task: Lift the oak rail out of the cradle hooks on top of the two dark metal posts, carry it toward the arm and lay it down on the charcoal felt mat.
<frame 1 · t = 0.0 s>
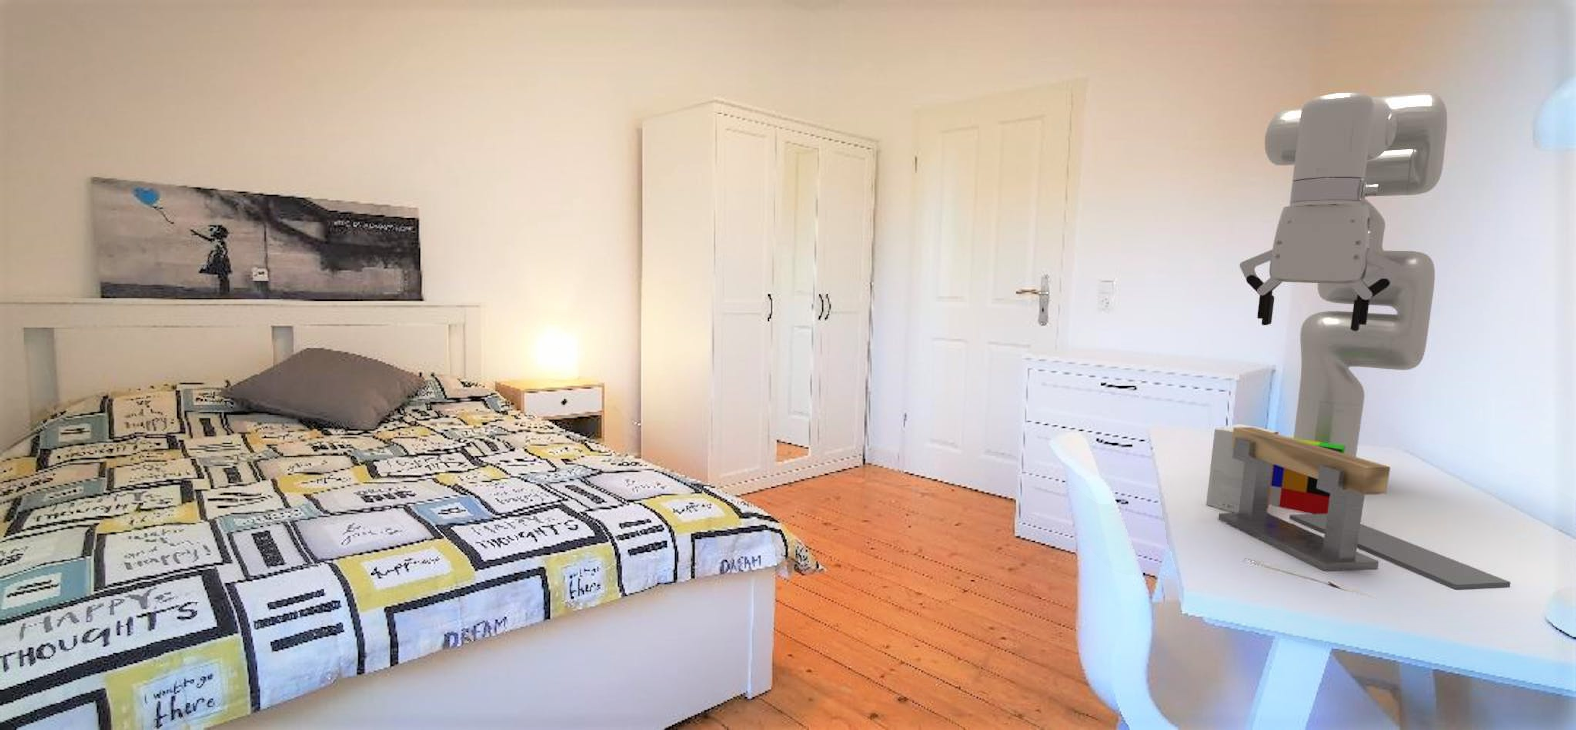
hand: (1309, 327, 96), 31 cm above the table, tool pointing down, fingers open, 9 cm apart
puzzle toy: (1296, 504, 122), on the table
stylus: (1326, 588, 91), on the table
rail: (1300, 469, 103), point 11 cm above the table, touching rack
small box: (1237, 507, 120), on the table
mat: (1387, 548, 103), on the table
rack: (1291, 542, 104), on the table
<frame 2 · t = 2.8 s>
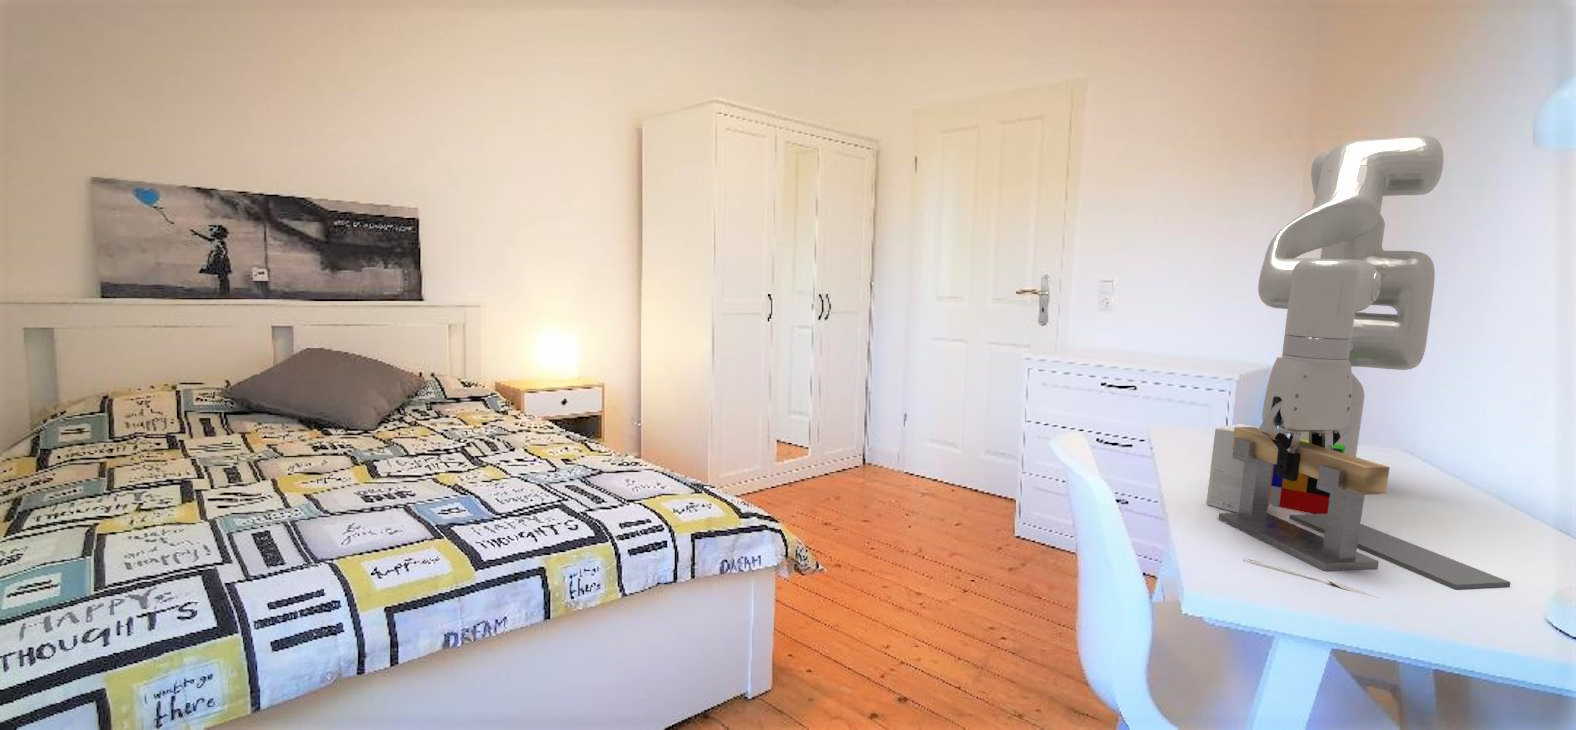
hand: (1299, 476, 103), 10 cm above the table, tool pointing down, fingers closed on rail, 3 cm apart
rail: (1300, 469, 103), point 11 cm above the table, touching gripper, rack, small box
small box: (1237, 507, 120), on the table, touching rail
everything else where it was.
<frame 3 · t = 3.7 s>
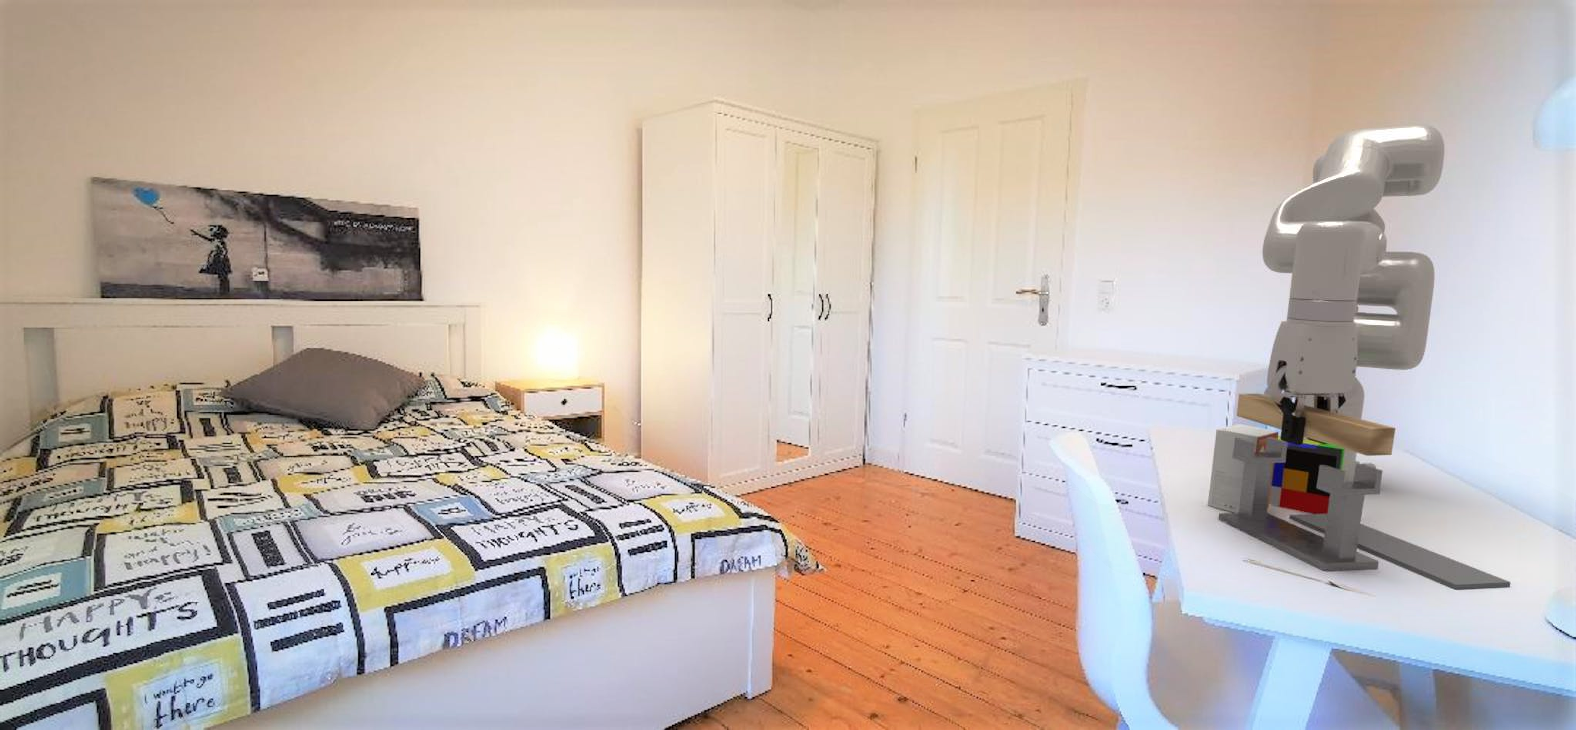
hand: (1304, 440, 103), 15 cm above the table, tool pointing down, fingers closed on rail, 3 cm apart
rail: (1306, 433, 102), point 16 cm above the table, touching gripper
small box: (1238, 508, 119), on the table
everything else where it was.
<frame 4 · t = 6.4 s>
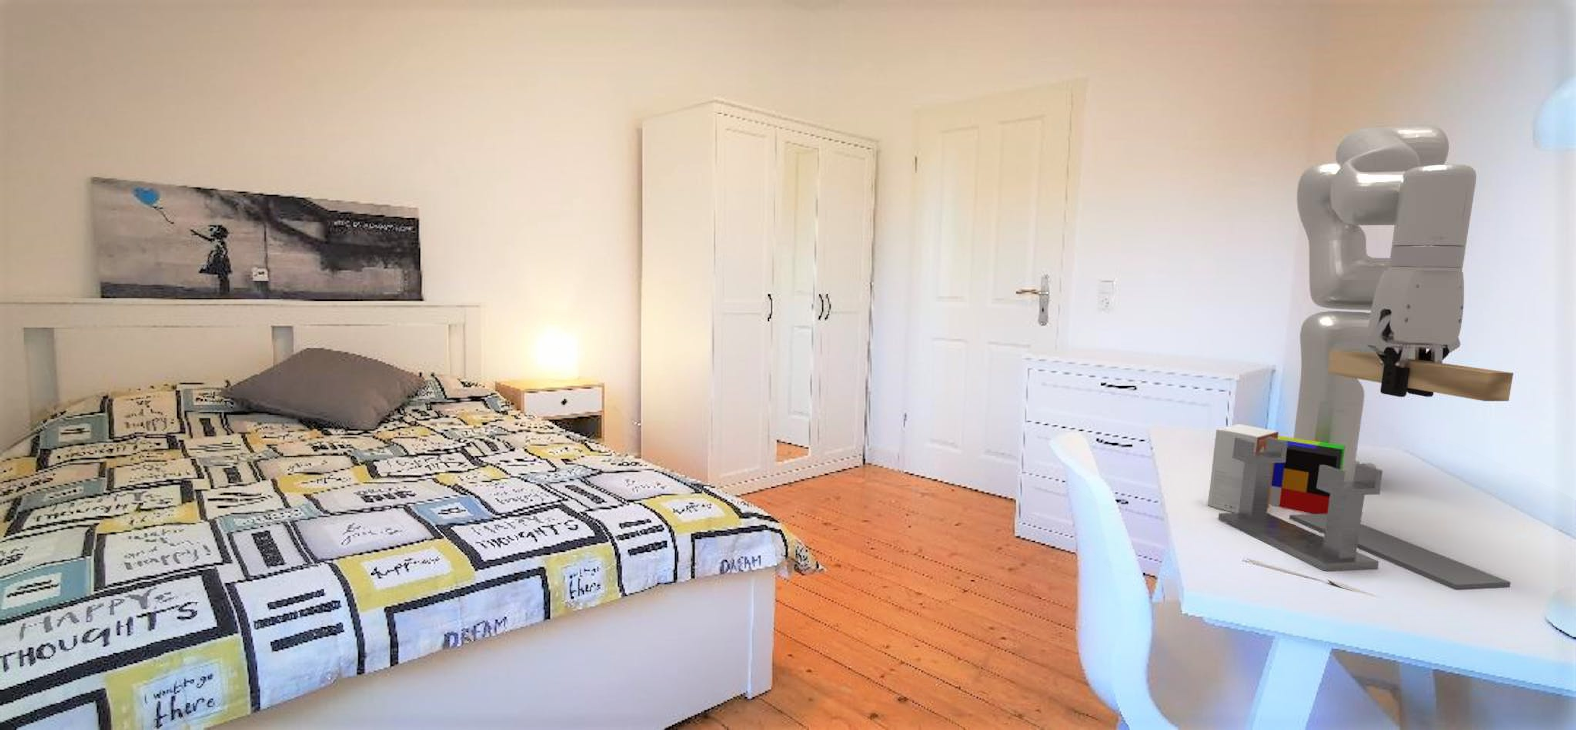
hand: (1406, 393, 100), 22 cm above the table, tool pointing down, fingers closed on rail, 3 cm apart
rail: (1408, 385, 100), point 23 cm above the table, touching gripper
everything else where it was.
when the fingers open (1 cm above the table, at t = 10.3 s): rail drops 2 cm, resting on mat.
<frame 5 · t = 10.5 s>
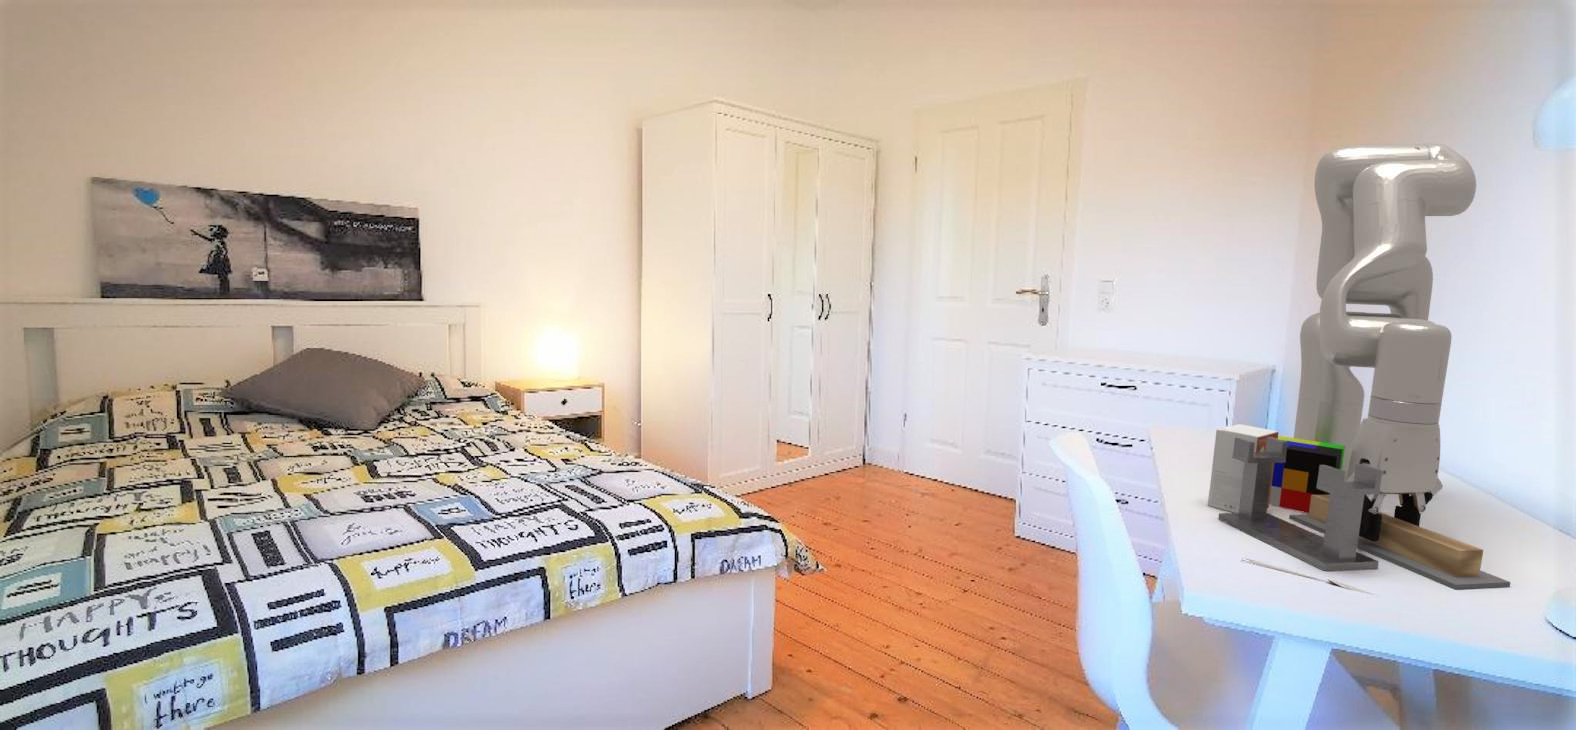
hand: (1385, 536, 103), 2 cm above the table, tool pointing down, fingers open, 5 cm apart
rail: (1385, 543, 103), point 1 cm above the table, touching mat
everything else where it was.
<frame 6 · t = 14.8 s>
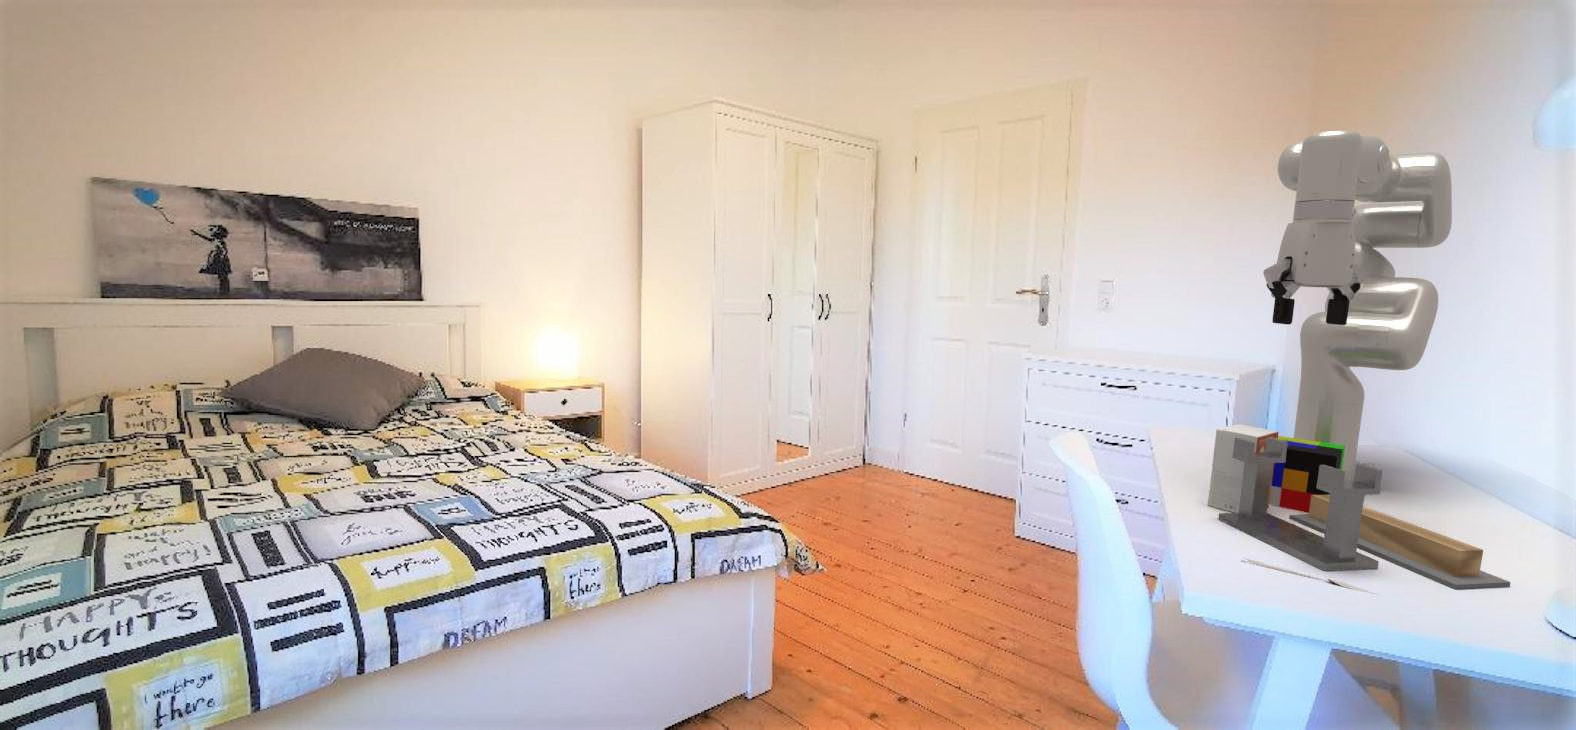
hand: (1308, 323, 115), 30 cm above the table, tool pointing down, fingers open, 9 cm apart
nothing on the table moved.
at the end: rail inside the target area on the mat (0.5 cm from its centre), point 0.6 cm above the mat's base; rail touching mat; the gripper is holding nothing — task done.
